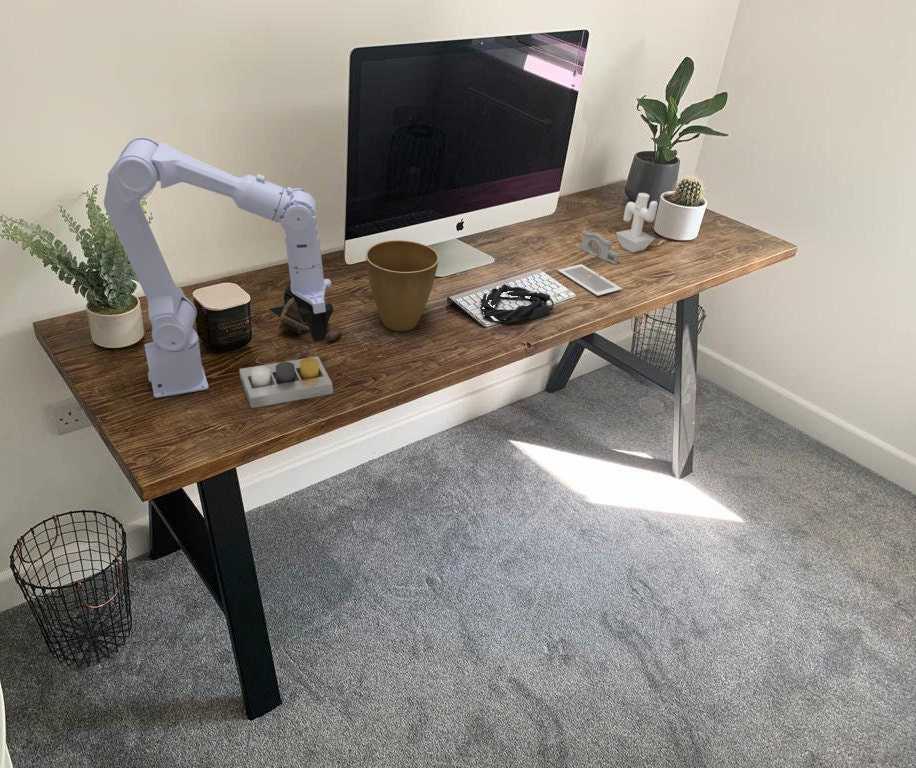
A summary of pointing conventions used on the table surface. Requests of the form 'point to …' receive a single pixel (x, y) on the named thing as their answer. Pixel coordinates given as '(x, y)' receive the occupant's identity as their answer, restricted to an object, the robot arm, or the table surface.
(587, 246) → the grey bracket plate
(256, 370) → the white button
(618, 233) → the figurine
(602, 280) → the touchpad
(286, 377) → the dark grey rounded block
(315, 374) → the amber button
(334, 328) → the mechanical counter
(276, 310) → the black mount on base
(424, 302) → the plant pot
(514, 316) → the cable
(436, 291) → the table surface
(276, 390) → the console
